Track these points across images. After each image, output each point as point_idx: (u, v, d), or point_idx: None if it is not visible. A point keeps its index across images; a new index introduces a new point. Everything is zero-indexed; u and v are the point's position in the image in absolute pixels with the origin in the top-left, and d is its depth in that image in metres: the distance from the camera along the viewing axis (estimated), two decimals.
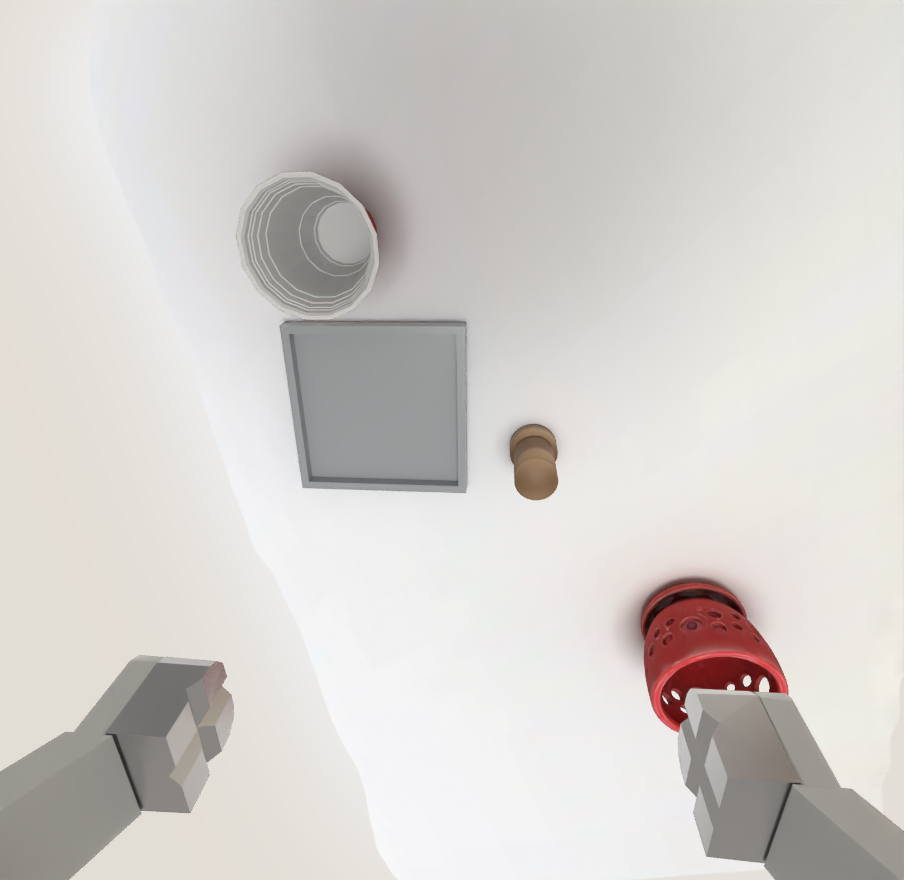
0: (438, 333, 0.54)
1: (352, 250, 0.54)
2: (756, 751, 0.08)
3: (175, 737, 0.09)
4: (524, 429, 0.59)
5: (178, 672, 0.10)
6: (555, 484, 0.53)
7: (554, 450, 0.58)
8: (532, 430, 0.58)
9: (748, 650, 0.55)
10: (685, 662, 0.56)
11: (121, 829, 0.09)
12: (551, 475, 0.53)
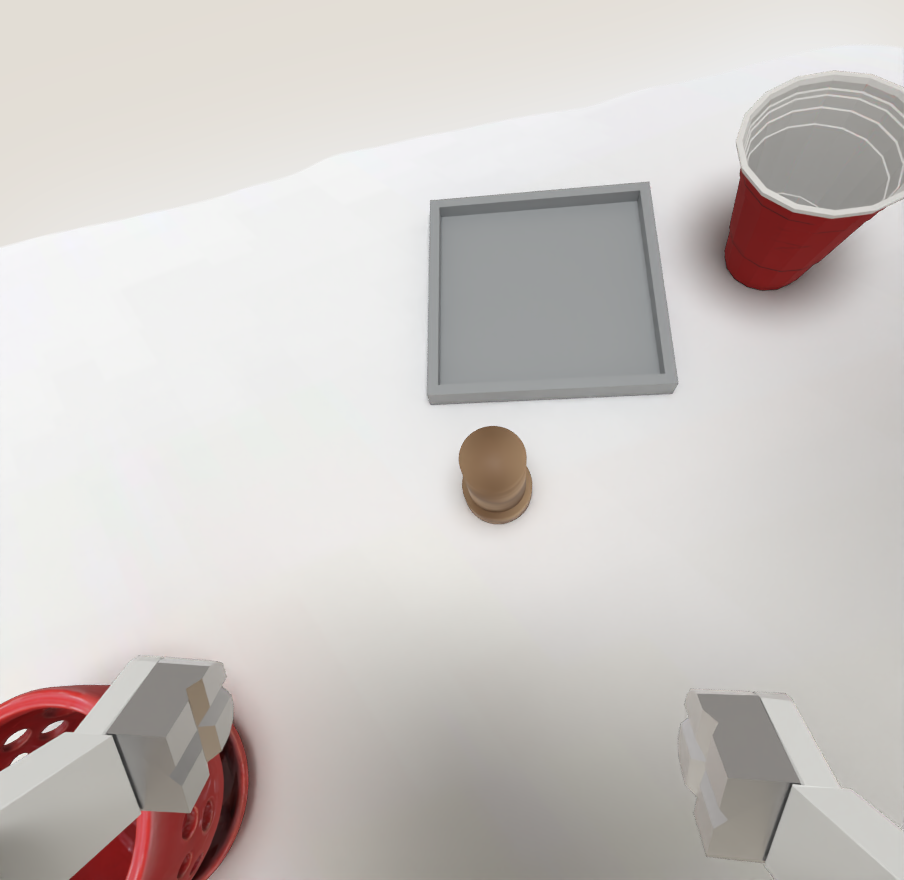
0: (664, 352, 0.41)
1: None
2: (755, 751, 0.08)
3: (175, 737, 0.09)
4: None
5: (178, 672, 0.10)
6: (488, 487, 0.33)
7: (503, 513, 0.39)
8: (531, 480, 0.40)
9: None
10: None
11: (121, 829, 0.09)
12: (504, 479, 0.33)
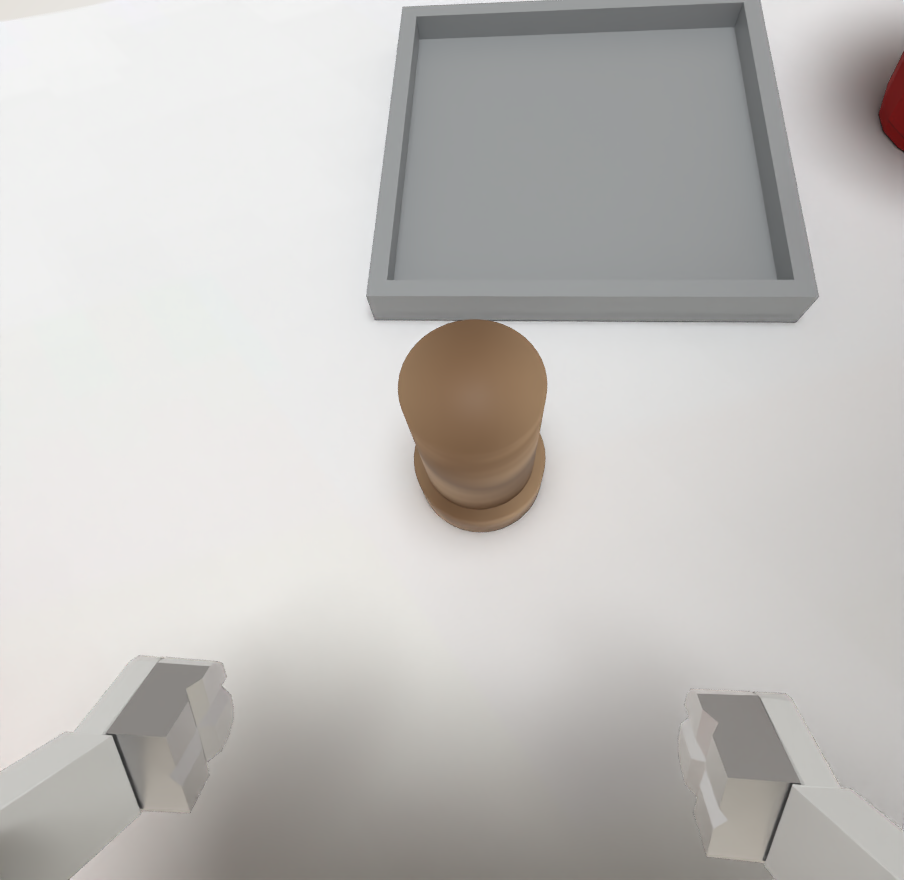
0: (791, 244, 0.23)
1: None
2: (755, 751, 0.08)
3: (175, 737, 0.09)
4: None
5: (178, 672, 0.10)
6: (458, 445, 0.15)
7: (487, 512, 0.20)
8: (544, 453, 0.21)
9: None
10: None
11: (121, 829, 0.09)
12: (496, 432, 0.15)
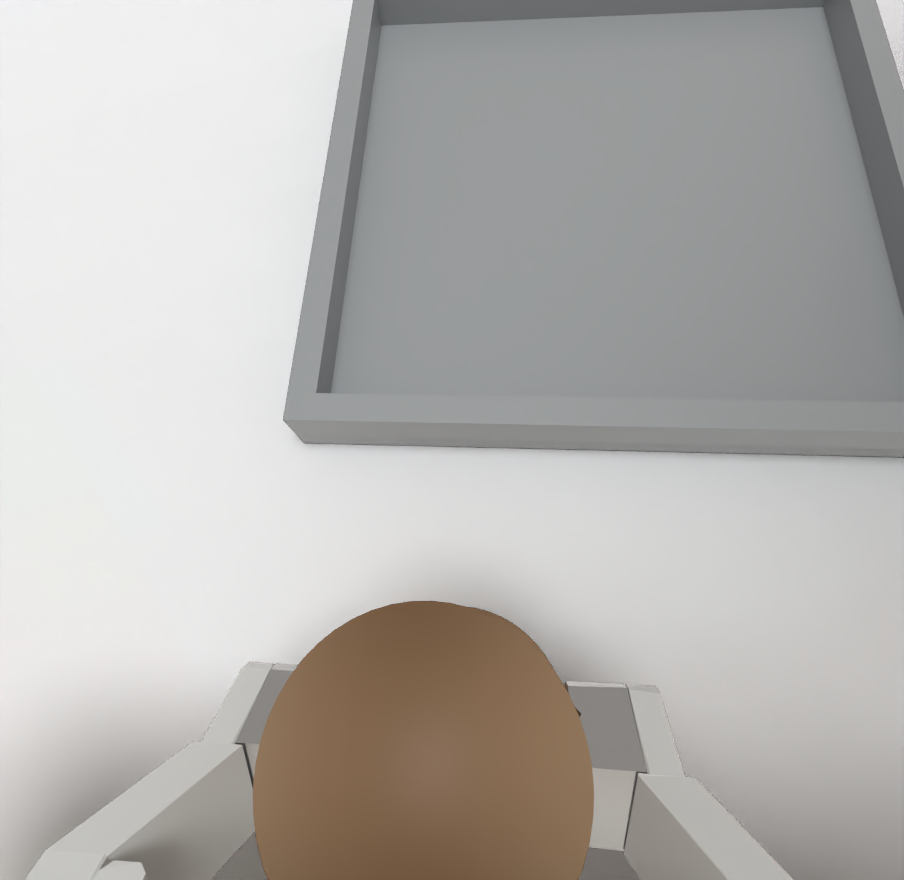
0: None
1: None
2: (611, 740, 0.08)
3: None
4: None
5: None
6: None
7: None
8: None
9: None
10: None
11: (244, 840, 0.09)
12: None
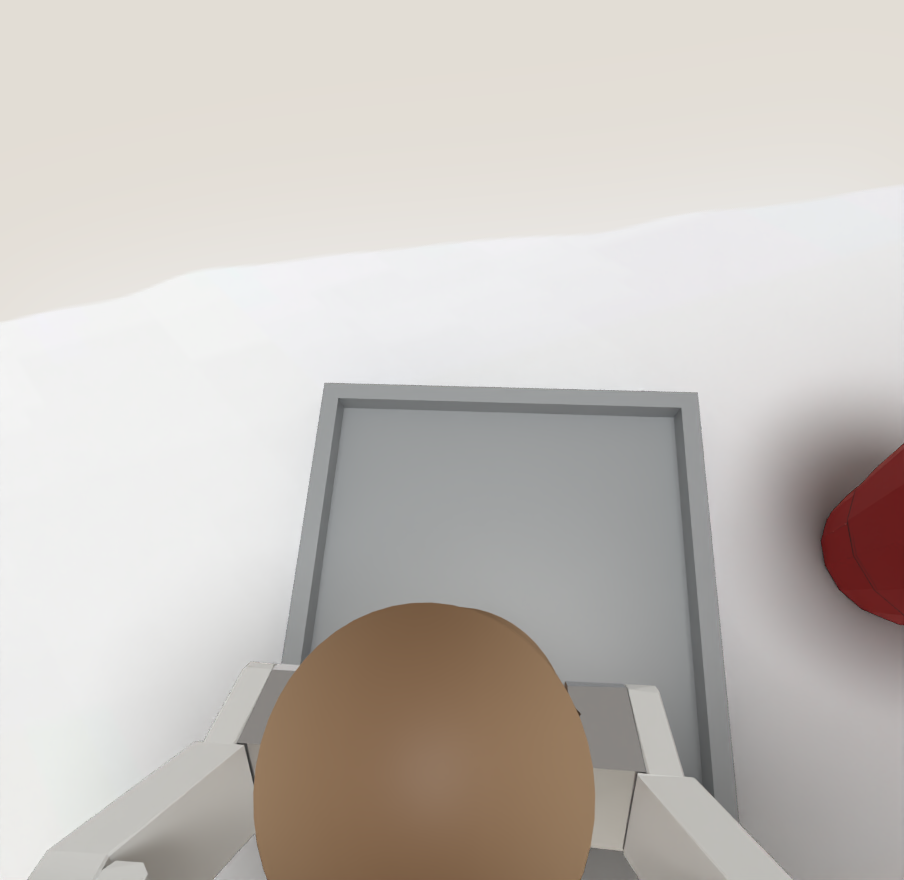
0: (715, 763, 0.22)
1: None
2: (610, 740, 0.08)
3: None
4: None
5: None
6: None
7: None
8: None
9: None
10: None
11: (245, 840, 0.09)
12: None
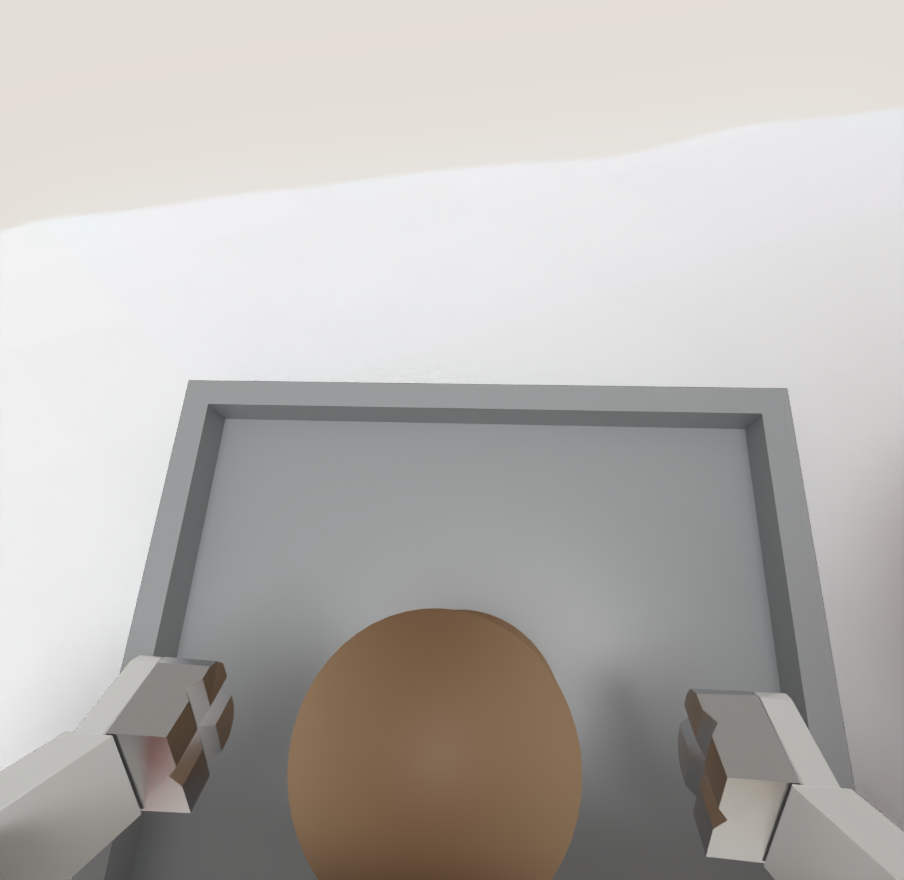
0: None
1: None
2: (755, 750, 0.08)
3: (175, 737, 0.09)
4: None
5: (178, 672, 0.10)
6: None
7: None
8: None
9: None
10: None
11: (121, 829, 0.09)
12: None
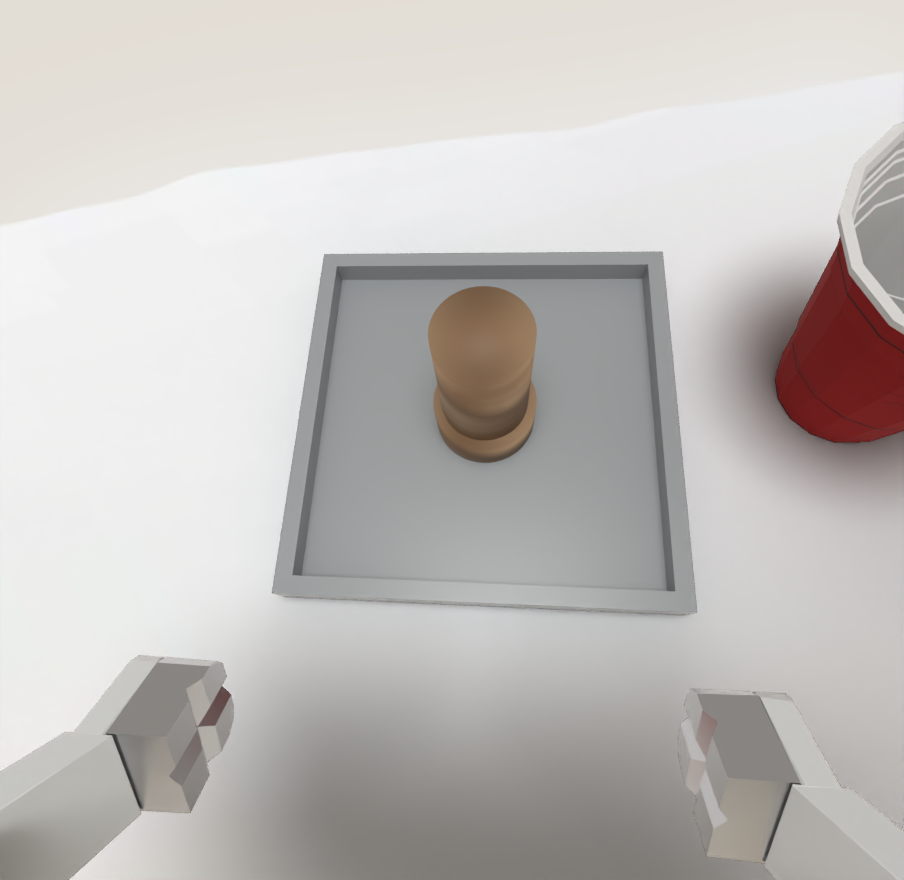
0: (675, 550, 0.24)
1: None
2: (755, 751, 0.08)
3: (175, 737, 0.09)
4: None
5: (178, 672, 0.10)
6: (473, 375, 0.20)
7: (491, 442, 0.26)
8: (535, 398, 0.27)
9: None
10: None
11: (121, 829, 0.09)
12: (500, 365, 0.20)
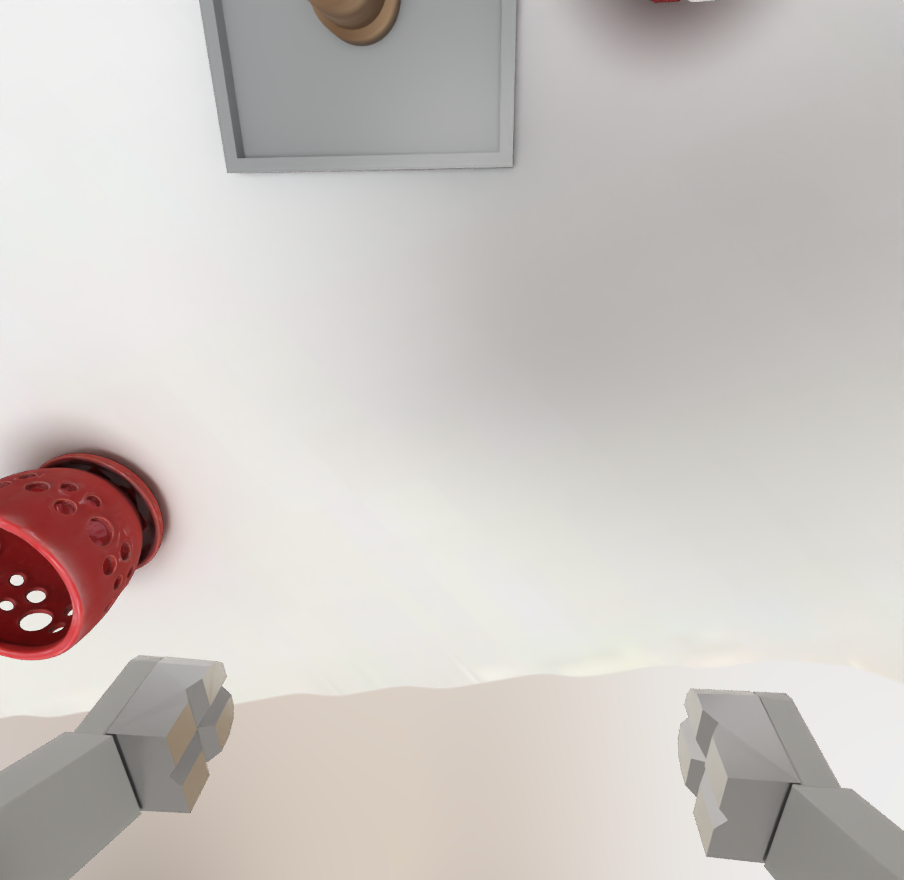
0: (502, 119, 0.34)
1: None
2: (755, 750, 0.08)
3: (175, 737, 0.09)
4: None
5: (178, 672, 0.10)
6: None
7: (360, 31, 0.32)
8: None
9: (88, 611, 0.40)
10: (37, 544, 0.37)
11: (121, 829, 0.09)
12: None
